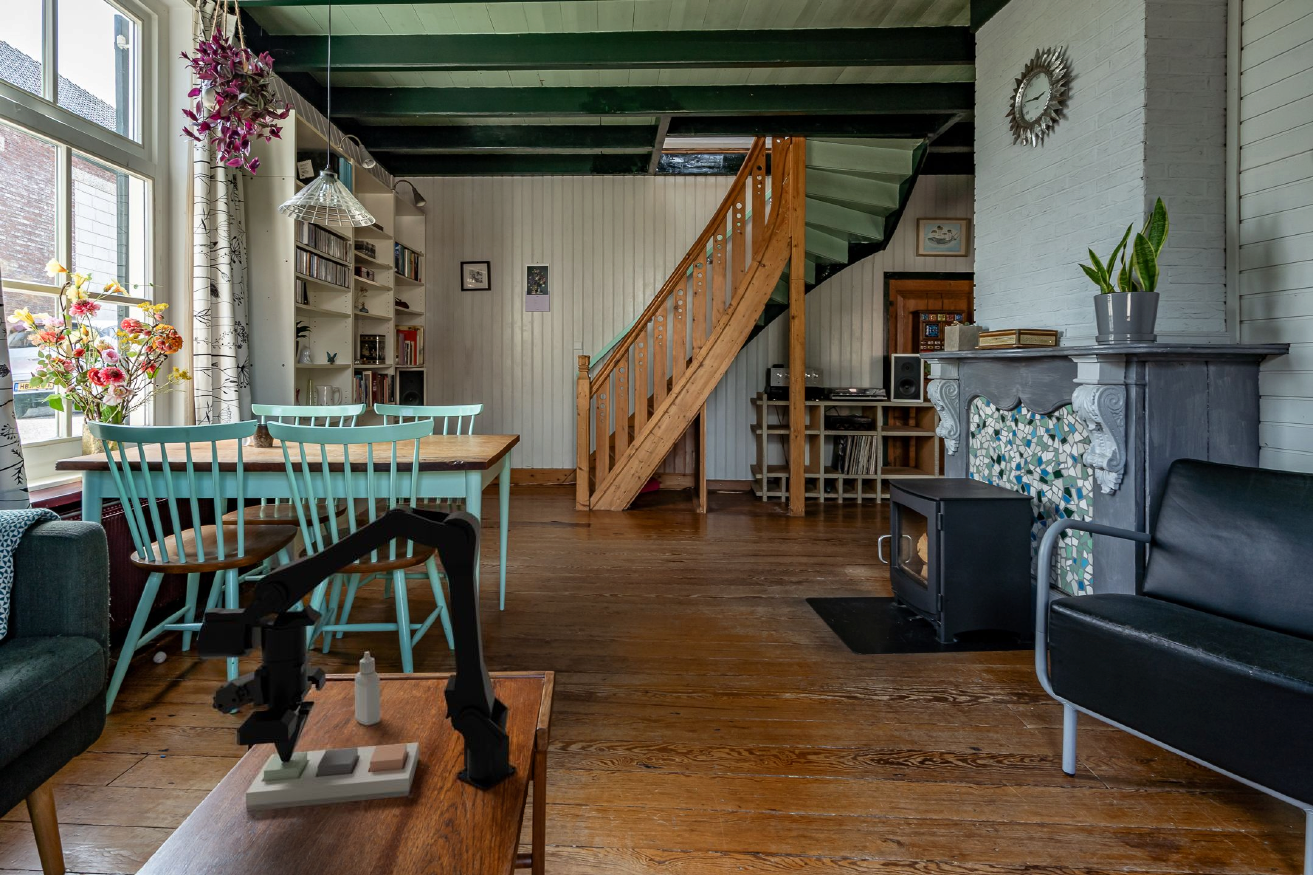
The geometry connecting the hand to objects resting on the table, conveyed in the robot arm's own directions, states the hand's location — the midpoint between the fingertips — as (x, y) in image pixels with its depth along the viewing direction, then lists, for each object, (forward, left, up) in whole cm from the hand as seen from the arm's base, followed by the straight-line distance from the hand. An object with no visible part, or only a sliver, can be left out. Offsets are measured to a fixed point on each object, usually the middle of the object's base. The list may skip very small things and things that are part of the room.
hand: (286, 760), depth 98 cm
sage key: (0, 0, -2) cm, 2 cm away
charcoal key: (-5, -5, -2) cm, 7 cm away
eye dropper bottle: (+9, -19, -4) cm, 21 cm away
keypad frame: (-5, -5, -4) cm, 8 cm away
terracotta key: (-10, -10, -2) cm, 14 cm away
